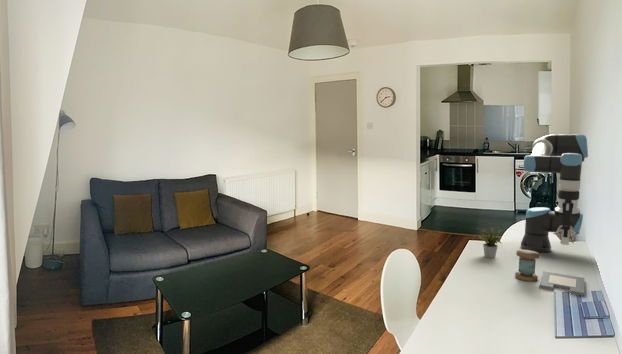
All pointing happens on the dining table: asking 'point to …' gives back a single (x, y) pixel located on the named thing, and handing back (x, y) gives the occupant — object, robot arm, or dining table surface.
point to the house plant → (490, 243)
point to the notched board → (562, 282)
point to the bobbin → (527, 265)
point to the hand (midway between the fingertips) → (565, 241)
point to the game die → (571, 234)
